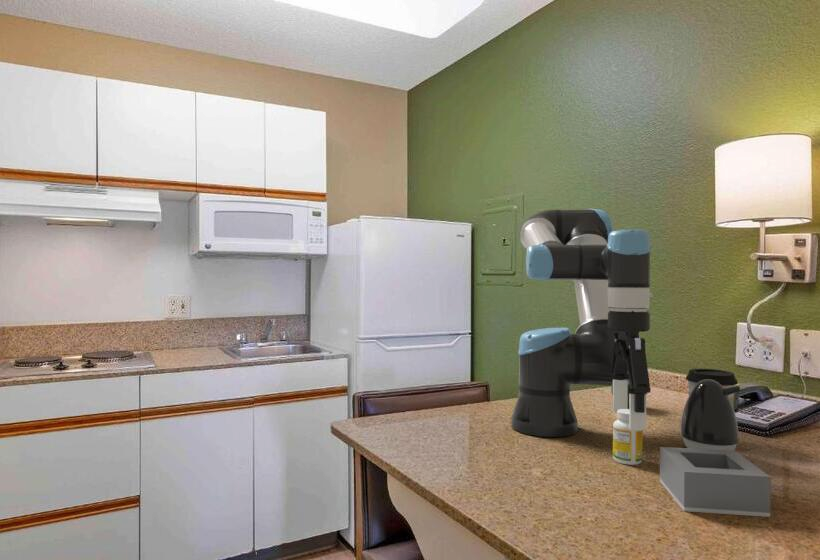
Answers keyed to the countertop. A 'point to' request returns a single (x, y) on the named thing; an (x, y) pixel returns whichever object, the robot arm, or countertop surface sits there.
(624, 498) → the countertop surface
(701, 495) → the well
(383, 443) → the countertop surface
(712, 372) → the coffee cup
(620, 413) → the supplement bottle
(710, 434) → the pump dispenser
